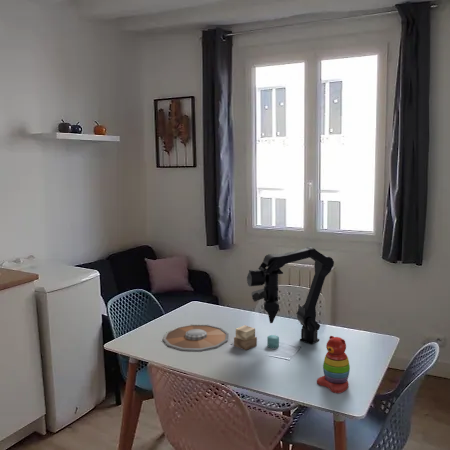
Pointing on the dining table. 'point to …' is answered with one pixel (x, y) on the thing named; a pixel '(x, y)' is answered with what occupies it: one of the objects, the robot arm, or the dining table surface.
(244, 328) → the oak top block
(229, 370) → the dining table surface
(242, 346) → the walnut base block
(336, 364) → the stacking bear
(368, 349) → the dining table surface
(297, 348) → the dining table surface
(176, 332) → the shield
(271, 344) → the teal cylinder
